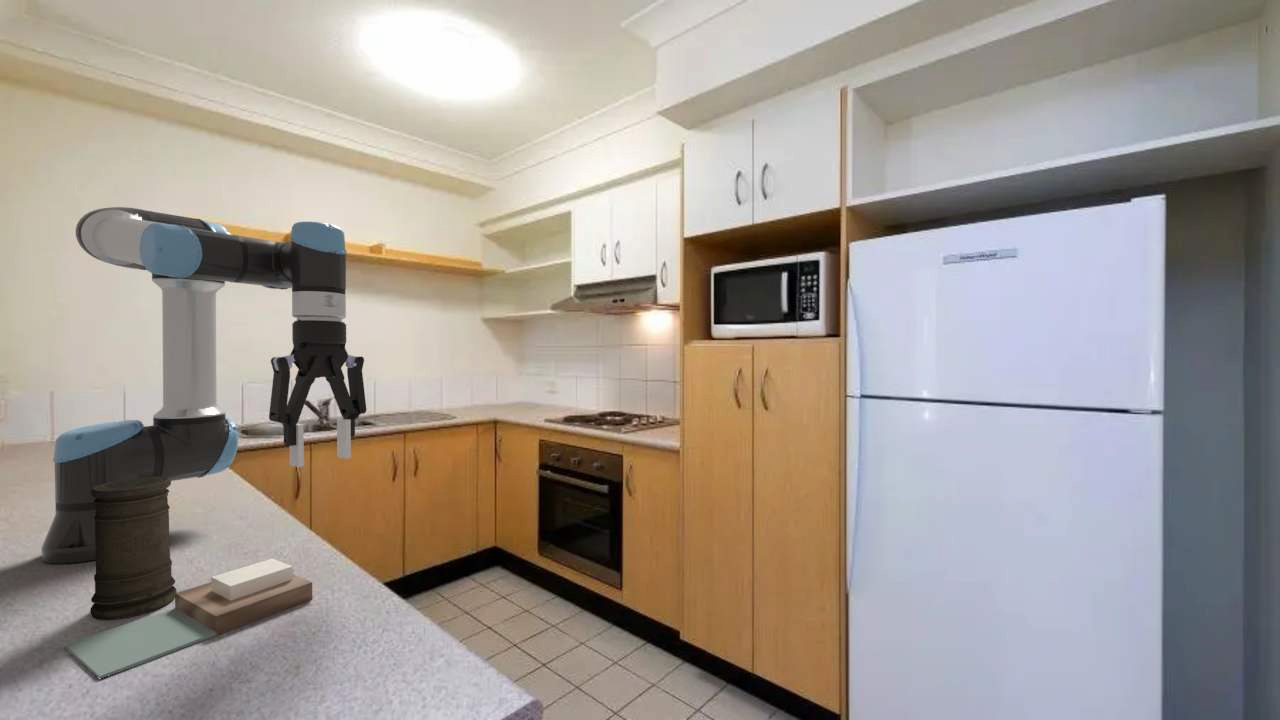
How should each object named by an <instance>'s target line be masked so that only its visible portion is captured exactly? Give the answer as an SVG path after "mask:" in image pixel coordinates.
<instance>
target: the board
mask: <svg viewBox="0 0 1280 720" xmlns="http://www.w3.org/2000/svg"><path fill="white" fill-rule="evenodd" d="M310 600H313V582H312V581H310V580H308V579H306V578H303V577H300V576H297V575H295V574H293V580H290V581H287V582H284V583H281V584H278V585H275V586H272V587H269V588H266V589H263V590H261V591H258V592H255V593H252V594H249V595H246V596H243V597H240V598H237V599H234V600H231V601H230V600H228V599H226V598H224V597H222V596H221V595H219V594H217V593H215V592H213V591H211V581H210V582H207V583H204V584H201V585H198V586H195V587H191V588H188V589H185V590H181V591H177V593H175V598H174V608H176V609H178V610H179V611H181V612H183V613H185V614H186V615H188V616H190V617H191V618H193V619H195V620H196V621H198V622H200V623H202V624H203V625H205V626H207V627H208V628H210V629H212V630H213V631H215V632H216V636H218V635H221V634H224V633H227V632H229V631H231V630H234V629H236V628H239V627H242V626H245V625H247V624H250V623H253V622H255V621H257V620H261V619H263V618H265V617H268V616H271V615H273V614H276V613H278V612H281V611H284V610H287V609H289V608H293V607H294V606H297V605H300V604H303V603H305V602H308V601H310Z"/></svg>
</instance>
